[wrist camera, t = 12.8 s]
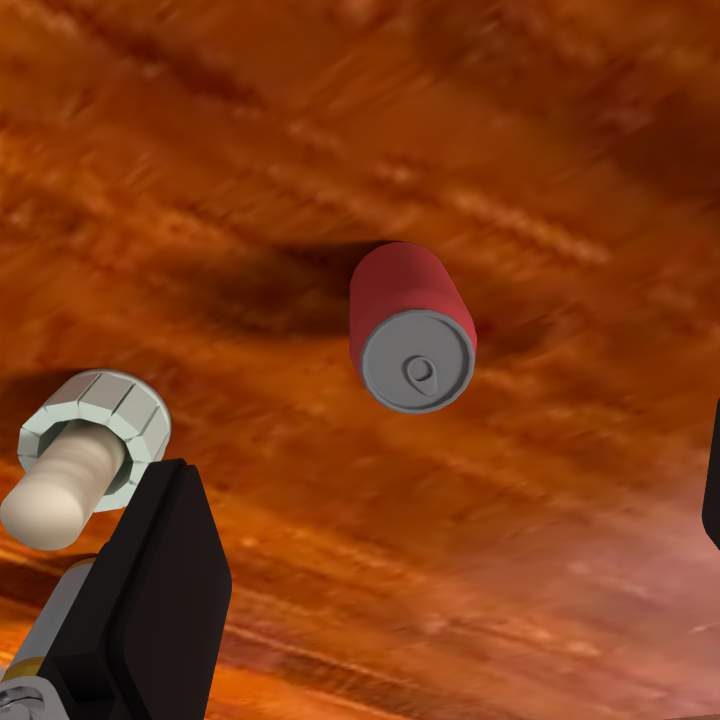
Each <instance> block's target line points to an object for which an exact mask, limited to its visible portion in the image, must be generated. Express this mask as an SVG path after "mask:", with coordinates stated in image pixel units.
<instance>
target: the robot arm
mask: <svg viewBox="0 0 720 720" xmlns="http://www.w3.org/2000/svg"><path fill="white" fill-rule="evenodd" d="M702 522H703V526H704V529H705V531H706V533H707V534H708V536H709V537H710V539H711V540H712V541H713V542H714V544H715V545H716V546H717V548H718V549H719V550H720V398H719V400H718V403H717V410H716V417H715V424H714V431H713V438H712V445H711V452H710V459H709V467H708V474H707V481H706V488H705V495H704V502H703V509H702ZM231 592H232V579H231V573H230V569H229V566H228V563H227V560H226V557H225V554H224V551H223V548H222V544H221V541H220V538H219V535H218V532H217V529H216V526H215V522H214V519H213V516H212V513H211V510H210V507H209V504H208V501H207V497H206V494H205V491H204V488H203V485H202V482H201V479H200V476H199V472H198V470H197V468H196V466H195V465H187V463H186V462H185V460H184V459H182V458H178V459H170V460H163V461H155V462H151V463H149V464H148V466H147V468H146V469H145V471H144V473H143V475H142V477H141V479H140V481H139V483H138V485H137V487H136V489H135V491H134V493H133V495H132V497H131V499H130V501H129V503H128V505H127V507H126V509H125V511H124V513H123V515H122V517H121V519H120V521H119V523H118V525H117V527H116V529H115V531H114V533H113V535H112V537H111V539H110V541H109V542H107V543H105V544H104V546H103V547H102V548H101V550H100V551H99V553H98V555H97V557H96V559H95V561H94V563H93V565H92V567H91V569H90V571H89V573H88V575H87V577H86V579H85V581H84V583H83V584H82V586H81V588H80V590H79V592H78V594H77V596H76V598H75V600H74V602H73V604H72V606H71V608H70V610H69V612H68V614H67V616H66V617H65V619H64V621H63V623H62V625H61V627H60V629H59V631H58V633H57V635H56V637H55V639H54V641H53V643H52V645H51V647H50V649H49V650H48V652H47V654H46V656H45V658H44V660H43V662H42V664H41V666H40V668H39V670H38V672H37V674H36V676H21V677H18V678H14V679H11V680H8V681H4V682H2V683H0V720H204V715H205V711H206V706H207V702H208V697H209V693H210V688H211V684H212V679H213V674H214V670H215V665H216V661H217V656H218V652H219V647H220V643H221V638H222V634H223V629H224V624H225V620H226V615H227V611H228V606H229V602H230V597H231ZM666 720H720V714H714V715H705V716H695V717H685V718H676V719H666Z"/></svg>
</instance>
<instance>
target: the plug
mask: <svg viewBox="0 0 720 720" xmlns="http://www.w3.org/2000/svg"><path fill="white" fill-rule="evenodd" d="M128 454H129V450H128V447H127V445H126V442H125V441H124V440H123V439H122V438H120V437H119V436H118V435H117V434H116V433H114V432H113V431H112V430H111V429H110V428H108V427H107V426H106V425H103V424H99V423H96V422H92V421H89V420H85V419H82V418H77V419H72V420H71V421H70V422H69V423H68V424H67V425H66V427H65V428H64V429H63V430H62V431H61V433H60V434H59V435H58V436H57V437H56V439H55V440H54V441H53V442H52V443H51V445H50V446H49V447H48V448H47V449H46V450H45V452H44V453H43V454H42V455H41V456H40V458H39V459H38V460H37V461H36V462H35V464H34V465H33V466H32V467H31V468H30V469H29V471H28V472H27V473H26V474H25V475H24V477H23V478H22V479H21V480H20V481H19V483H18V484H17V485H16V486H15V487H14V488H13V490H12V491H11V492H10V493H9V494H8V496H7V497H6V498H5V499H4V501H3V502H2V505H1V508H0V518H1V521H2V524H3V526H4V528H5V529H6V531H7V532H8V533H9V534H10V535H11V536H12V537H13V538H14V539H16V540H17V541H19V542H20V543H22V544H24V545H26V546H28V547H31V548H34V549H39V550H58V549H62V548H65V547H67V546H69V545H70V544H72V543H73V542H74V541H75V540H76V539H77V538H78V536H79V534H80V533H81V531H82V529H83V528H84V526H85V524H86V523H87V521H88V520H89V518H90V516H91V515H92V513H93V511H94V510H95V508H96V506H97V505H98V503H99V501H100V500H101V498H102V496H103V495H104V493H105V491H106V490H107V488H108V487H109V485H110V483H111V482H112V480H113V478H114V477H115V475H116V473H117V472H118V470H119V468H120V467H121V465H122V463H123V462H124V460H125V459H126V457H127V455H128Z"/></svg>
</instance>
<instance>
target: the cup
mask: <svg viewBox="0 0 720 720" xmlns="http://www.w3.org/2000/svg"><path fill="white" fill-rule="evenodd" d="M77 418H82V419H85V420H89V421H92V422H96V423H99V424H103V425H106V426H107V427H108V428H110V429H111V430H112V431H113V432H114V433H116V434H117V435H118V436H119V437H120V438H122V439H123V440H124V441H125V442H126V445H127V447H128V450H129V454H128V455H127V457H126V459H125V460H124V462H123V463H122V465H121V467H120V468H119V470H118V472H117V473H116V475H115V477H114V478H113V480H112V482H111V483H110V485H109V487H108V488H107V490H106V491H105V493H104V495H103V496H102V498H101V500H100V501H99V503H98V505H97V506H96V508H95V510H94V512H100V511H107V510H113V509H119V508H123V506H127V505H128V503H129V501H130V499H131V497H132V495H133V493H134V491H135V489H136V487H137V485H138V483H139V481H140V479H141V477H142V475H143V473H144V471H145V469H146V468H147V466H148V464H149V463H151V462H155V461H161V459H162V457H163V455H164V451H165V448H166V446H167V444H168V441H169V439H170V435H171V417H170V414H169V410H168V408H167V406H166V404H165V402H164V401H163V399H162V397H161V396H160V395H159V394H158V392H157V391H156V390H155V389H154V388H153V387H152V386H150V385H149V384H148V383H146V382H145V381H143V380H142V379H140V378H139V377H137V376H134V375H132V374H130V373H127V372H124V371H121V370H116V369H109V368H98V369H91V370H86V371H83V372H81V373H78V374H76V375H75V376H73V377H71V378H70V379H69V380H67V381H66V382H65V383H64V384H63V385H62V386H61V387H60V388H59V389H58V390H57V391H56V392H55V393H54V394H53V395H52V396H51V397H50V398H49V399H48V400H47V401H46V402H45V403H44V404H43V405H42V406H41V407H40V408H39V409H38V410H37V411H36V412H35V413H34V414H33V415H32V416H31V417H30V418H29V419H28V420H27V421H26V422H25V423H24V425H23V427H22V428H21V430H20V437H19V444H18V451H17V454H19V456H18V459H19V461H20V463H21V465H22V467H23V469H24V471H25V473H27V472H28V471H29V469H30V468H31V467H32V466H33V465H34V464H35V462H36V461H37V460H38V459H39V458H40V456H41V455H42V454H43V453H44V452H45V450H46V449H47V448H48V447H49V446H50V445H51V443H52V442H53V441H54V440H55V439H56V437H57V436H58V435H59V434H60V433H61V431H62V430H63V429H64V428H65V427H66V425H67V424H68V423H69V422H70V421H71V420H72V419H77Z"/></svg>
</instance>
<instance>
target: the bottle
mask: <svg viewBox="0 0 720 720" xmlns="http://www.w3.org/2000/svg"><path fill="white" fill-rule="evenodd" d="M95 559H96V558H89V559H84V560H82V561H79V562H77V563H75V564H73V565H72V566H71V567H69V568H68V569H67V570H66V572H65V573H64V575H63V576H62V577H61V579H60V581H59V583H58V584H57V586H56V588H55V589H54V591H53V593H52V594H51V596H50V598H49V600H48V601H47V603H46V605H45V606H44V608H43V610H42V611H41V613H40V615H39V617H38V618H37V620H36V622H35V623H34V625H33V627H32V628H31V630H30V632H29V634H28V635H27V637H26V639H25V640H24V642H23V644H22V645H21V647H20V649H19V651H18V652H17V654H16V656H15V657H14V659H13V661H12V662H11V664H10V666H9V667H8V669H7V671H6V673H5V675H4V677H3V679H2V681H1V683H2V682H4V681H8V680H11V679H14V678H18V677H21V676H36V674H37V672H38V670H39V668H40V666H41V664H42V662H43V660H44V658H45V656H46V654H47V652H48V650H49V649H50V647H51V645H52V643H53V641H54V639H55V637H56V635H57V633H58V631H59V629H60V627H61V625H62V623H63V621H64V619H65V617H66V616H67V614H68V612H69V610H70V608H71V606H72V604H73V602H74V600H75V598H76V596H77V594H78V592H79V590H80V588H81V586H82V584H83V583H84V581H85V579H86V577H87V575H88V573H89V571H90V569H91V567H92V565H93V563H94V561H95Z"/></svg>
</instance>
